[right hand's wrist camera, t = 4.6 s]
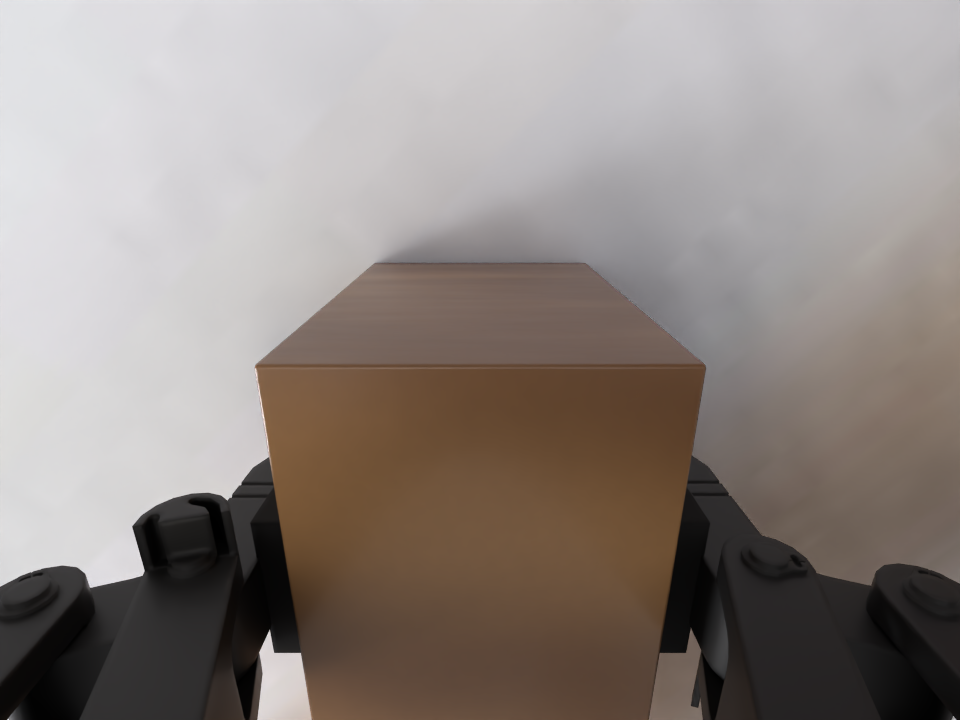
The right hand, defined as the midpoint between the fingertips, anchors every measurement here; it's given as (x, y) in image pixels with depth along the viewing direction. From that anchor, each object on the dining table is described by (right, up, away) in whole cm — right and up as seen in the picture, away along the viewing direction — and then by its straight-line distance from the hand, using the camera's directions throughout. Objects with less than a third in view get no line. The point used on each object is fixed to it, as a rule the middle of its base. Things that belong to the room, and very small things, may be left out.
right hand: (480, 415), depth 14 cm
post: (0, -23, +9) cm, 25 cm away
